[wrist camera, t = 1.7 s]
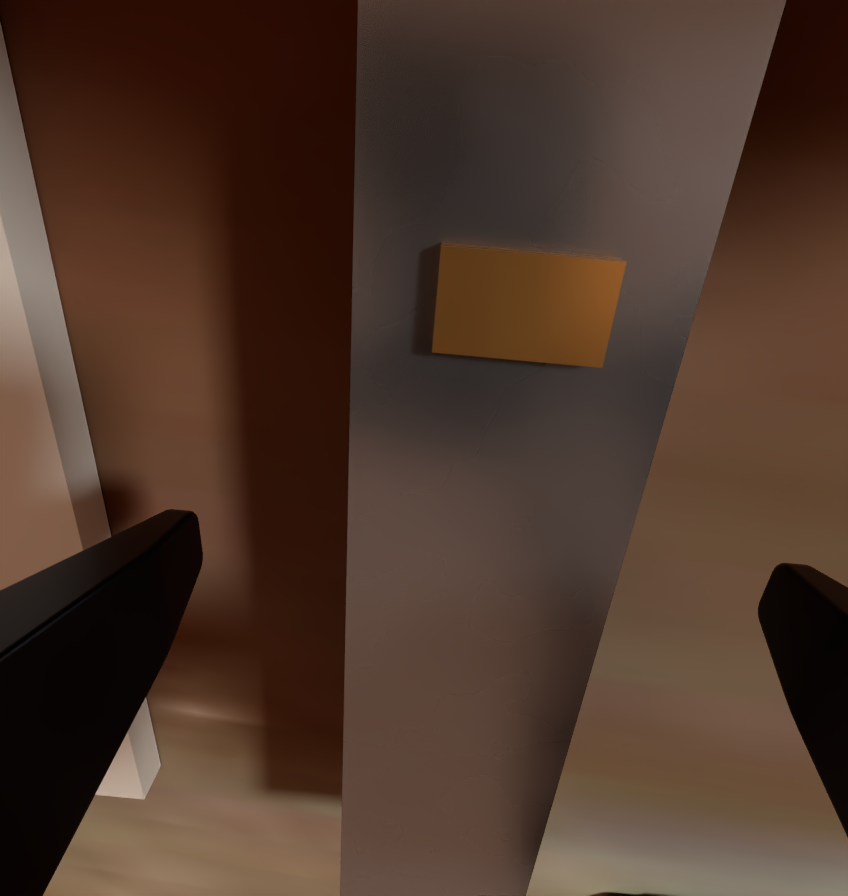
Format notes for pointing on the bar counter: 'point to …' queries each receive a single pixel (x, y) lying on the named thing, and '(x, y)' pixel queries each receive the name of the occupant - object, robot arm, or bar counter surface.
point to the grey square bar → (511, 388)
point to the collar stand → (46, 418)
